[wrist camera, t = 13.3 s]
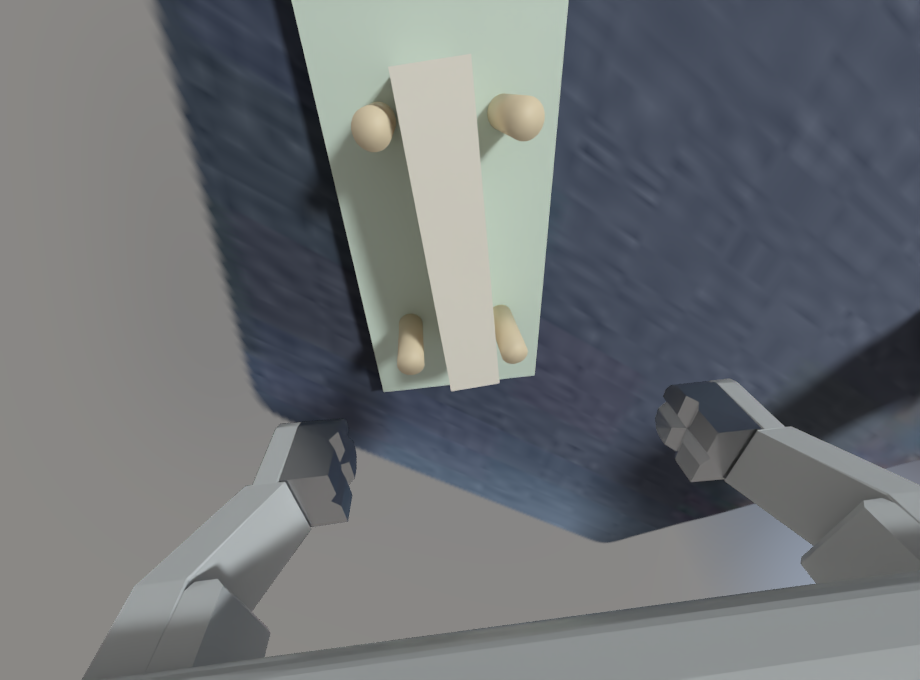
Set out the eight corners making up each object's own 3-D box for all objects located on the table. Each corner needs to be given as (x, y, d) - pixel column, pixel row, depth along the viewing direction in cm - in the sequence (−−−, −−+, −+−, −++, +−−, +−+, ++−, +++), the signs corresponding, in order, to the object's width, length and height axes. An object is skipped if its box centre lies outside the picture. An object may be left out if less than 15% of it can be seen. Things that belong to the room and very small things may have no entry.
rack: (289, -40, 16) (234, -97, 11) (561, -51, 16) (626, -109, 11) (384, 379, 29) (379, 437, 25) (529, 363, 30) (552, 417, 25)
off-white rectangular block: (393, 71, 17) (388, 66, 13) (457, 61, 17) (471, 53, 13) (445, 344, 26) (451, 391, 22) (485, 337, 26) (499, 383, 22)
